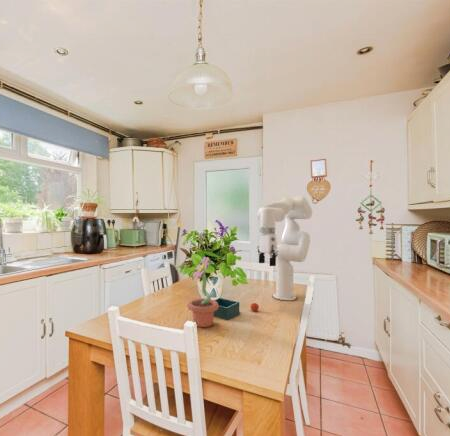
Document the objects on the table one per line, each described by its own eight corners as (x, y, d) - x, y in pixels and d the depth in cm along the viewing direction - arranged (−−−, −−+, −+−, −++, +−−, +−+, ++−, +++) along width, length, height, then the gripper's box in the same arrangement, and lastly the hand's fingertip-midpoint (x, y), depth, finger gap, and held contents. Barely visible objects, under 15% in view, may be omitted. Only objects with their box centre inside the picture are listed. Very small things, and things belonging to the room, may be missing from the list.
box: (219, 308, 144) (219, 297, 144) (239, 313, 137) (239, 302, 137) (206, 314, 135) (206, 302, 135) (227, 319, 128) (227, 308, 128)
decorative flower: (184, 318, 129) (184, 254, 129) (212, 316, 132) (212, 254, 132) (191, 331, 115) (191, 259, 114) (222, 329, 117) (223, 259, 117)
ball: (252, 309, 143) (252, 301, 143) (260, 310, 140) (260, 302, 140) (249, 311, 140) (249, 303, 140) (256, 312, 137) (256, 304, 137)
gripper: (284, 232, 135) (283, 266, 135) (264, 230, 152) (263, 261, 151) (271, 231, 133) (270, 267, 133) (252, 230, 150) (251, 262, 149)
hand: (267, 264), depth 142 cm, fingers open, 9 cm apart
